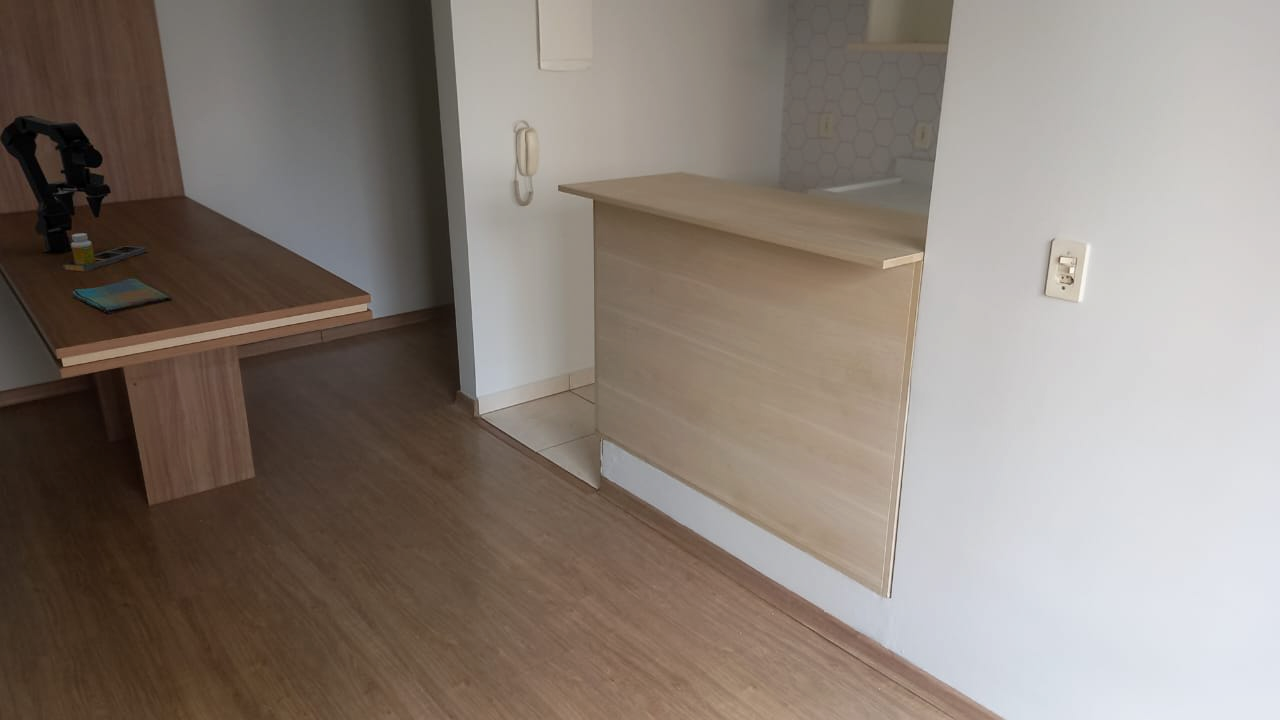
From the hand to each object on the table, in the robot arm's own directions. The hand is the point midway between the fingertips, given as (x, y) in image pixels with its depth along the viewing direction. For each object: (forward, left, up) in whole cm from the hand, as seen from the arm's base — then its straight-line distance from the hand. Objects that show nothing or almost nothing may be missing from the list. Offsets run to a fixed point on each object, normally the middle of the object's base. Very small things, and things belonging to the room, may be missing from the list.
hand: (85, 216), depth 280 cm
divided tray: (+7, -2, -13) cm, 15 cm away
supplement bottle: (+7, -10, -13) cm, 18 cm away
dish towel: (+42, -32, -14) cm, 55 cm away
